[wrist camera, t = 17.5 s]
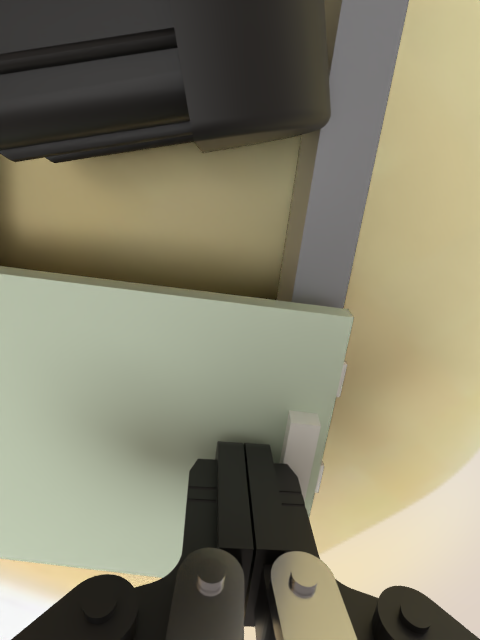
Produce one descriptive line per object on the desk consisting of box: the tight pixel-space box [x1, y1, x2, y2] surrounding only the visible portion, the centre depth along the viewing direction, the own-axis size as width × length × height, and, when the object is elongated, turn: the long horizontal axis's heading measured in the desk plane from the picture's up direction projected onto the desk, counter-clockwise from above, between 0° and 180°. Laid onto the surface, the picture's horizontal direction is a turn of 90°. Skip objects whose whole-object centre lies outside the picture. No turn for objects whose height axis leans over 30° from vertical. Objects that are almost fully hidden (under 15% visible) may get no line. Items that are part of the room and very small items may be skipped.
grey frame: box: [276, 0, 409, 493], centre depth 12 cm, size 13×26×2 cm, turn 173°
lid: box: [0, 266, 354, 578], centre depth 12 cm, size 12×10×1 cm
